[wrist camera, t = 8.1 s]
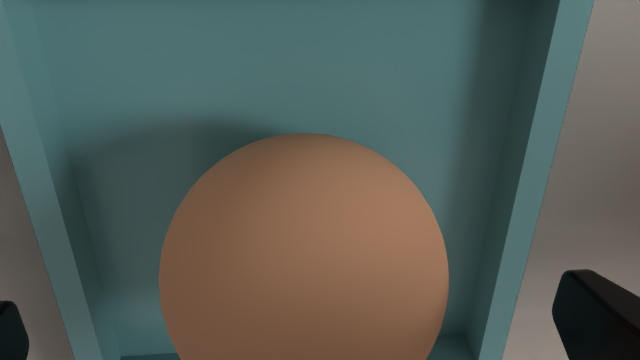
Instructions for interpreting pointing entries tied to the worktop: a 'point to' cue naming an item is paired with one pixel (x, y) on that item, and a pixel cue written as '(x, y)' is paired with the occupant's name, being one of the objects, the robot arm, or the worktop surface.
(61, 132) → the coaster tray
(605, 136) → the worktop surface
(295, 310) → the ball
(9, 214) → the worktop surface
